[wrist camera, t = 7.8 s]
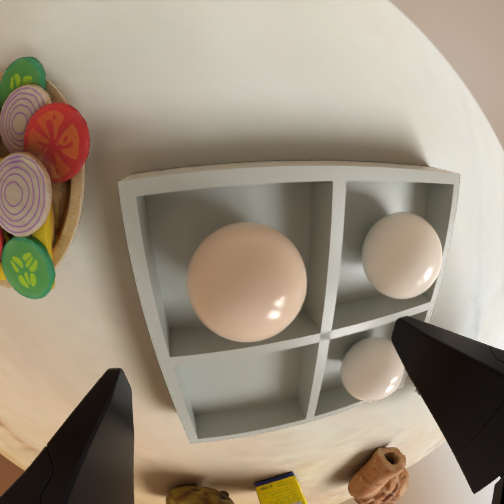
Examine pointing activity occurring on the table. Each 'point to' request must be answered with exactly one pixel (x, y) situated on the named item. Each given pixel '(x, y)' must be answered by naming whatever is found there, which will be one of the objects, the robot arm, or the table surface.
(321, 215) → the crate
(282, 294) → the brown egg
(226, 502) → the potato
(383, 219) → the egg
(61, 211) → the toy food set
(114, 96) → the table surface
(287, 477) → the supplement box
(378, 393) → the egg
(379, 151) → the table surface
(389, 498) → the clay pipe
